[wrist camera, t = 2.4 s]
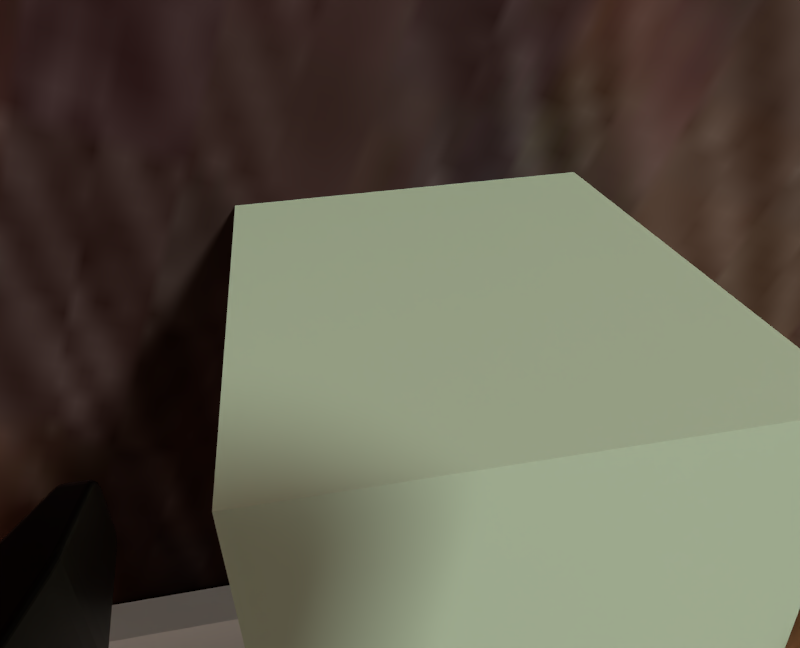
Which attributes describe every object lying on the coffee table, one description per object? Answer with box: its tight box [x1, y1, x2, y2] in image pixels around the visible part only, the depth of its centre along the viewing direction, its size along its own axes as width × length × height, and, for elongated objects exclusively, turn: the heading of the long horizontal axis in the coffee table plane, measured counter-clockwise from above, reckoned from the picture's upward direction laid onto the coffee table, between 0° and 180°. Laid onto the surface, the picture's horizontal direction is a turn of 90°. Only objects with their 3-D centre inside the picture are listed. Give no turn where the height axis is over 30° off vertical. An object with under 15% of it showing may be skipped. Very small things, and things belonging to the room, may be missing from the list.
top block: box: [212, 172, 800, 648], centre depth 9 cm, size 5×5×6 cm
